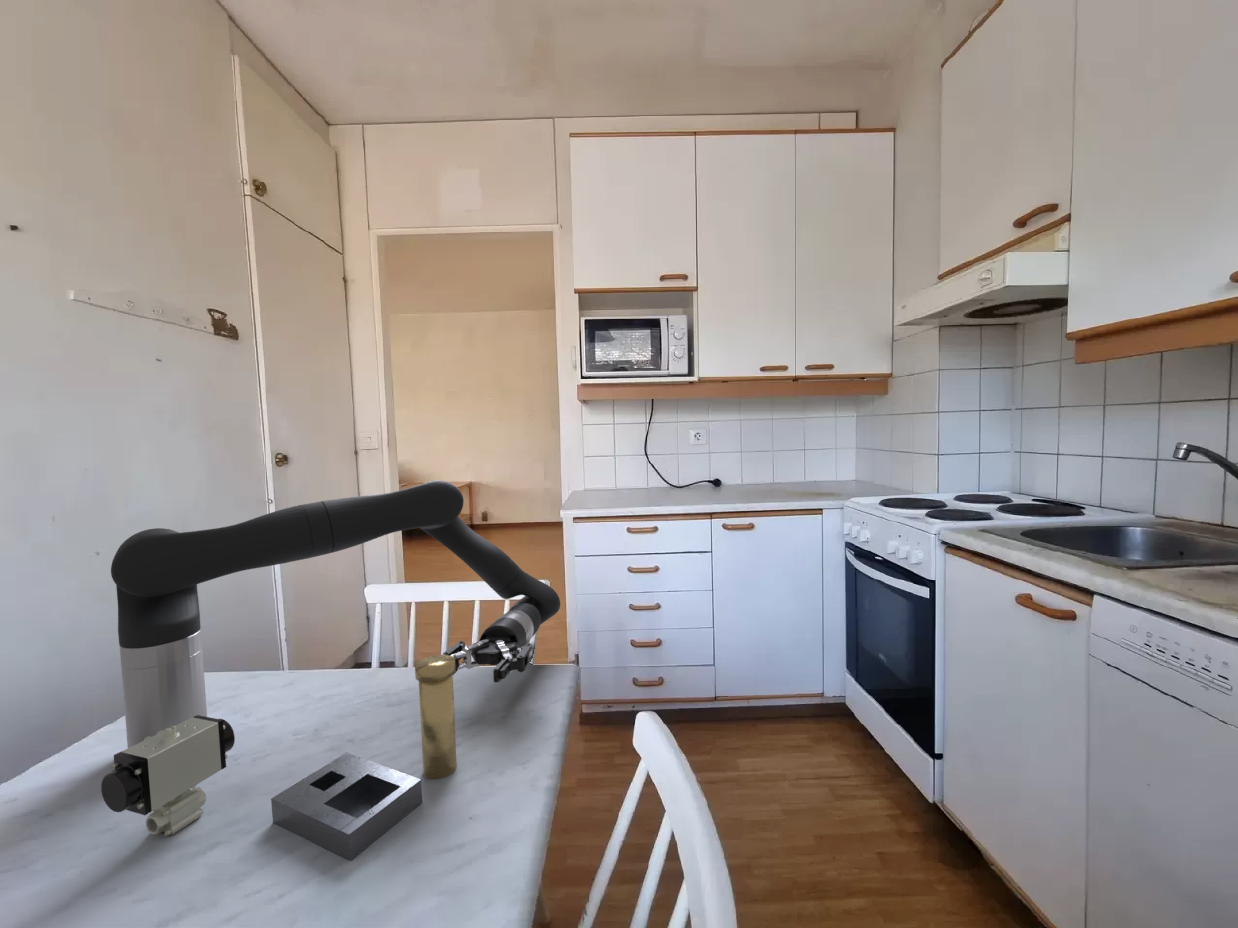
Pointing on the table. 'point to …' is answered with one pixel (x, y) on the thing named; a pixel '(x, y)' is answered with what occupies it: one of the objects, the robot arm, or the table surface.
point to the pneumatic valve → (169, 773)
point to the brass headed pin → (437, 715)
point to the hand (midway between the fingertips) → (470, 675)
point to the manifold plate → (347, 804)
